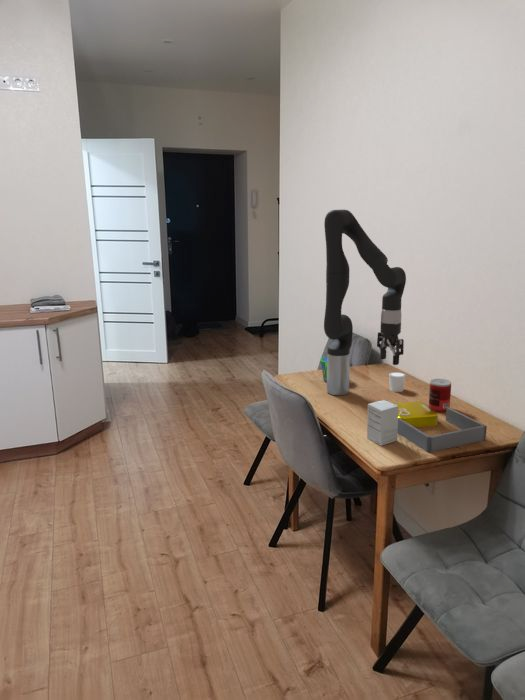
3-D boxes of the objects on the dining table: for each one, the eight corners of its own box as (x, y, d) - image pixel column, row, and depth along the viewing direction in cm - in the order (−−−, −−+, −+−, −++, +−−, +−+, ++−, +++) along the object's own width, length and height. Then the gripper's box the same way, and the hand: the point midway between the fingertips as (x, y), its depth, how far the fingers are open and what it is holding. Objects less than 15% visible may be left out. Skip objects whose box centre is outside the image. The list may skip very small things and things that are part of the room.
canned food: (450, 406, 203) (452, 379, 200) (448, 413, 196) (450, 386, 193) (430, 403, 206) (431, 377, 203) (427, 410, 199) (428, 383, 196)
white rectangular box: (382, 433, 180) (384, 399, 177) (397, 441, 174) (399, 405, 171) (366, 438, 177) (367, 403, 174) (380, 446, 171) (381, 410, 167)
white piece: (405, 392, 219) (406, 377, 217) (388, 392, 220) (389, 376, 218) (404, 387, 225) (405, 372, 223) (388, 386, 227) (388, 371, 225)
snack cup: (335, 387, 228) (336, 365, 225) (313, 383, 233) (313, 362, 231) (349, 377, 241) (349, 356, 238) (328, 374, 246) (328, 353, 244)
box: (394, 430, 182) (395, 417, 181) (447, 420, 190) (448, 407, 188) (428, 452, 165) (429, 438, 164) (485, 439, 173) (486, 426, 172)
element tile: (439, 426, 186) (440, 413, 184) (399, 429, 184) (399, 417, 182) (421, 411, 200) (421, 399, 199) (383, 414, 198) (384, 402, 197)
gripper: (372, 318, 202) (370, 358, 206) (393, 325, 189) (391, 368, 193) (388, 316, 204) (387, 356, 208) (410, 323, 191) (408, 365, 195)
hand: (389, 361), depth 201 cm, fingers open, 8 cm apart
